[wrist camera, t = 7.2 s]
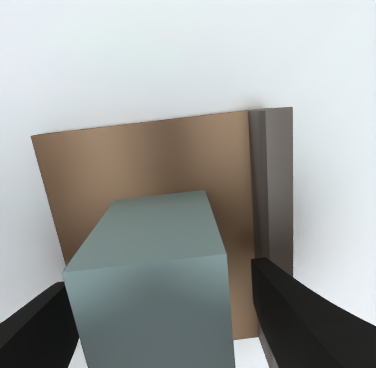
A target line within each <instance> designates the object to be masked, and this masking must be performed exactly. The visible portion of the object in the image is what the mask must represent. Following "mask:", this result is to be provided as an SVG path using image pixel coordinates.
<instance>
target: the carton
mask: <svg viewBox="0 0 376 368" xmlns="http://www.w3.org/2000/svg"><path fill="white" fill-rule="evenodd" d="M62 276H63V279H64V283H65V287H66V290H67V294H68V297H69V301H70V305H71V308H72V312H73V316H74V319H75V323H76V326H77V330H78V334H79V337H80V341H81V345H82V348H83V352H84V355H85V359H86V363H87V366H88V368H235V357H234V344H233V331H232V318H231V305H230V292H229V279H228V265H227V253H226V251H225V248H224V245H223V242H222V239H221V236H220V233H219V230H218V227H217V224H216V221H215V218H214V215H213V212H212V209H211V206H210V203H209V200H208V198H207V195H206V192H205V190H200V191H192V192H183V193H174V194H165V195H157V196H148V197H139V198H130V199H121V200H114V202H113V203H112V204H111V206H110V207H109V208H108V210H107V211H106V213H105V214H104V215H103V217H102V218H101V219H100V221H99V222H98V224H97V225H96V226H95V228H94V229H93V230H92V232H91V233H90V235H89V236H88V237H87V239H86V240H85V241H84V243H83V244H82V246H81V247H80V248H79V250H78V251H77V252H76V254H75V255H74V257H73V258H72V259H71V261H70V262H69V263H68V265H67V266H66V268H65V269H64V270H63V272H62Z"/></svg>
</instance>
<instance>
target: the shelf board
mask: <svg viewBox="0 0 376 368" xmlns="http://www.w3.org/2000/svg"><path fill="white" fill-rule="evenodd" d="M31 139H32V143H33V146H34V150H35V154H36V158H37V161H38V165H39V169H40V172H41V176H42V180H43V183H44V187H45V191H46V194H47V198H48V202H49V205H50V209H51V213H52V216H53V220H54V224H55V227H56V231H57V235H58V238H59V242H60V246H61V249H62V253H63V257H64V260H65V264H66V266H67V265H68V263H69V262H70V261H71V259H72V258H73V257H74V255H75V254H76V252H77V251H78V250H79V248H80V247H81V246H82V244H83V243H84V241H85V240H86V239H87V237H88V236H89V235H90V233H91V232H92V230H93V229H94V228H95V226H96V225H97V224H98V222H99V221H100V219H101V218H102V217H103V215H104V214H105V213H106V211H107V210H108V208H109V207H110V206H111V204H112V203H113V202H114V200H121V199H130V198H139V197H148V196H157V195H165V194H174V193H183V192H192V191H200V190H205V192H206V195H207V198H208V200H209V203H210V206H211V209H212V212H213V215H214V218H215V221H216V224H217V227H218V230H219V233H220V236H221V239H222V242H223V245H224V248H225V251H226V253H227V265H228V279H229V292H230V305H231V318H232V331H233V340H238V339H246V338H254V337H259V340H260V342H261V345H262V348H263V351H264V354H265V356H266V359H267V362H268V365H269V368H279V367H278V365H277V363H276V360H275V358H274V356H273V354H272V351H271V349H270V347H269V345H268V342H267V340H266V338H265V336H264V333H263V331H262V329H261V326H260V323H259V320H258V317H257V314H256V310H255V307H254V304H253V293H252V274H251V259H256V258H264V257H266V258H268V259H269V260H270V261H272V262H273V263H274V264H276V265H277V266H278V267H280V268H281V269H282V270H284V271H285V272H286V273H288V274H289V275H290V276H292V277H293V107H285V108H263V109H255V110H246V111H237V112H229V113H220V114H212V115H203V116H194V117H186V118H177V119H168V120H160V121H151V122H143V123H134V124H125V125H117V126H108V127H100V128H91V129H82V130H74V131H65V132H57V133H48V134H39V135H33V136H31Z"/></svg>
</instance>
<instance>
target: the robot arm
mask: <svg viewBox="0 0 376 368" xmlns="http://www.w3.org/2000/svg"><path fill="white" fill-rule="evenodd" d="M251 274H252V293H253V304H254V307H255V310H256V314H257V317H258V320H259V323H260V326H261V329H262V331H263V333H264V336H265V338H266V340H267V342H268V345H269V347H270V349H271V351H272V354H273V356H274V358H275V360H276V363H277V365H278V367H279V368H376V326H374V325H372V324H370V323H368V322H366V321H364V320H362V319H360V318H358V317H357V316H355V315H353V314H351V313H349V312H347V311H345V310H343V309H342V308H340V307H338V306H336V305H335V304H333V303H331V302H329V301H328V300H326V299H325V298H323V297H321V296H320V295H318V294H317V293H315V292H313V291H312V290H310V289H309V288H307V287H306V286H304V285H303V284H302V283H300V282H299V281H297V280H296V279H294V278H293V277H292V276H290V275H289V274H288V273H286V272H285V271H284V270H282V269H281V268H280V267H278V266H277V265H276V264H274V263H273V262H272V261H270V260H269V259H268V258H266V257H264V258H256V259H251ZM78 339H79V334H78V330H77V326H76V323H75V319H74V316H73V312H72V308H71V305H70V301H69V297H68V294H67V290H66V287H65V283H64V282H57V283H55V284H53V285H52V286H50V287H49V288H48V289H46V290H45V291H43V292H42V293H41V294H39V295H38V296H37V297H35V298H34V299H33V300H31V301H30V302H29V303H27V304H26V305H25V306H23V307H22V308H21V309H19V310H18V311H17V312H15V313H14V314H13V315H11V316H10V317H9V318H7V319H6V320H5V321H3V322H2V323H1V324H0V368H68V366H69V363H70V361H71V359H72V356H73V354H74V352H75V349H76V346H77V343H78Z"/></svg>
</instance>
